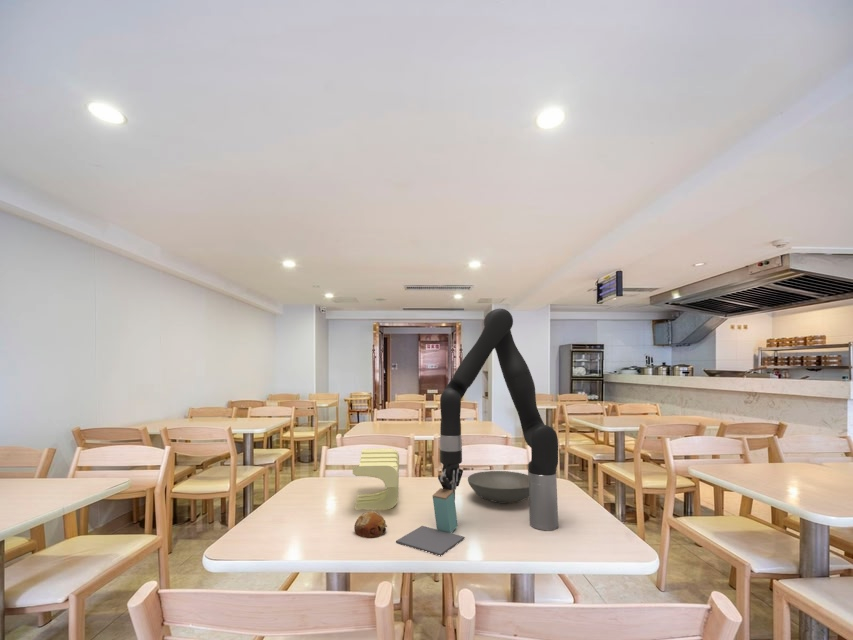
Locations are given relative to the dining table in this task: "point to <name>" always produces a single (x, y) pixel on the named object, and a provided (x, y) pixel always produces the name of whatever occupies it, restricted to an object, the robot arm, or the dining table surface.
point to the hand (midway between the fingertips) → (451, 501)
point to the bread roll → (370, 525)
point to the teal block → (445, 510)
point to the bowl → (500, 486)
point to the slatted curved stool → (381, 467)
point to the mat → (430, 540)
